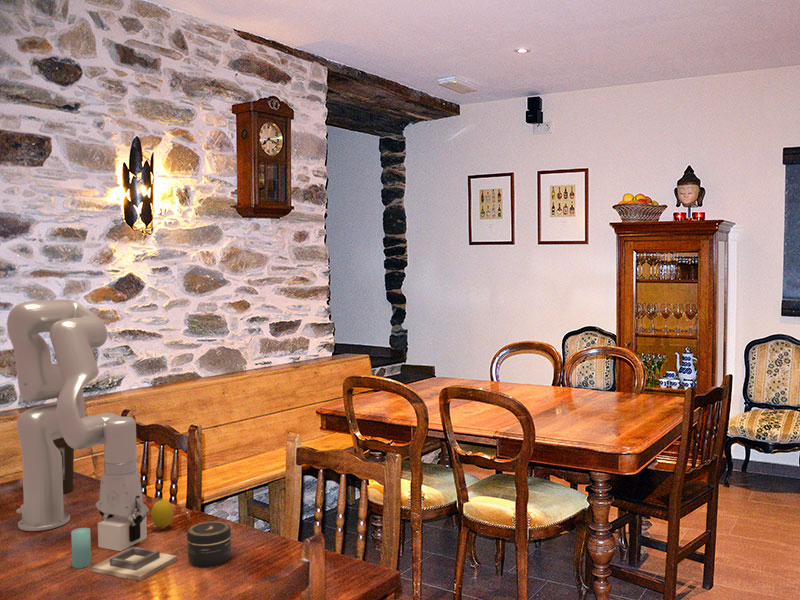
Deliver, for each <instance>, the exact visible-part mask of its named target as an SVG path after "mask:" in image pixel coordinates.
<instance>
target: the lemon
mask: <svg viewBox="0 0 800 600" xmlns="http://www.w3.org/2000/svg"><path fill="white" fill-rule="evenodd" d="M150 513H151V517H150V518H151V520H152V524H154V525H155V527H157V528H160V529H161V530H164V529H165V528H166V527H168V526H169V525H170V524H171V523H172V522H173V519H174V514H175V511H174V507H173V505H172V503H171V502H170V501H169V500H166V499H164V498H161V499H159V500H158V501H156V502H155V503H154V504H153V506H152V508H151V512H150Z"/></svg>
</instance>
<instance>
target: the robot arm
mask: <svg viewBox="0 0 800 600" xmlns="http://www.w3.org/2000/svg"><path fill="white" fill-rule="evenodd" d="M8 313H9V314H8V316H7V320H6V329H7V333H8V337H9V340H10V343H11V346H12V348H13V352H14V360H15V368H16V376H17V384H18V385H17V386H18V389H19V395H20V397H21V399H23V400H24V401H25V402H29V403H35V402H43V401H48V400H54V399H56V401H57V403H51V404H45V405H41V406H35V407H31V408H29V409H27V410H24V411H23V412H22V413H21V414H20V415H19V417H18V418H17V420H16V431H17V435H18V439H19V444H20V450H21V462H22V465H21V466H22V488H23V491H22V493H23V503H22V504H21V505H20V507H19V508H17V509H16V514H19V515H20V514H21V519H20V520H19V521H18V523H17V528H18V529H19V530H21V531H24V532H39V531H48V530H52V529H55V528H59V527H62V526H64V525H66V524H67V523H69V522H70V520H71V514H70V513H69V512H67V511H66V512H65V510H64V494H63V475H62V456H61V453H60V451H59V450H58V448H57V447H56V446H55V444H54V443H53V440H56V439H59V438H64V440H65V442H66V443H67V444H68V445H69V446H70V447H71V448H73V449H74V450H84V449H87V448H92V447H94V446H95V447H96V446H98V445H103V457H104V461H103V462H102V466H103V467H104V472H102V474H101V477H100V478H101V479H100V484H99V485H100V486H99V499H98V501H96V502H95V507H96V508H97V510H98V512H99V514H100V516H101V517H102V519H101V520H102V521H104V520H106V519H108V518H111V517H113V516H115V515H117V516H124V517H127V516H128V519H129V521H130V523H131V526H129V540H130V542H133V541H135V540H137V539H139V538H140V537H141V536H140V523H142V521H143V519H144V518H145V517H146V518H147V515H148V513H150V509H149V507H148V506H147V505H146V504H145V503H144V501H143V492H142V491H143V490H142V483H141V479H140V478H141V477H140V473H139V472H138V460H137V459H138V457H137V455H138V453H137V424H136V420H135V419H134V418H133V417H131V416H121V415H118V414H116V413H113V412H102V413H98V414H91V415H88V416H86V407H85V399H84V391H83V387H84V386H86V385H87V384H88V383H90V382H91V381H93V380H94V379H96V377H98V376H99V374H100V373H99V368H98V364H97V361H96V358H95V355H94V353H93V349H94V348H99V347H102V346H104V345H105V343H106V341H107V339H108V330H107V327H106V325H105V322H104V321H103V320H102V319H101V318H100V317H99V316H98V315H97V314H96V313H94V312H92V311H91V310H89V309H88V308H87V307H85V306H84V305H82V304H81V303H79V302H77V301H75V300H73V299H49V300H48V299H46V300H45V299H43V300H31V301H29V300H28V301H24V302H21V303H19V304H17V305H15V306H13V307H12V309H10V311H9V312H8ZM40 333H49V339H50V342H51V345H52V348H53V352H54V354H55V358H56V360H57V362H56V363H53V362H52V356H51V355H52V354H51V349H50V346H49V344H48V343H47V341H46V340H45V339H44V338H43V336H41V335H40ZM133 515H135V517H136V518H135V519H134V517H133Z"/></svg>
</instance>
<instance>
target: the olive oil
mask: <svg viewBox="0 0 800 600" xmlns="http://www.w3.org/2000/svg"><path fill="white" fill-rule="evenodd" d="M53 443H54V444H55V446H56V447H57V448H58V450H59V451H60V453H61V456H62V475H63V495H65V494H68V493H70V492H73V490H74V466H75V465H74V462H75V461H74V460H75V459H74V458H75V457H74V455H75V453H74V452H75V449H73V448H71V447H70V446H69V445H68V444H67V443H66V442H65V440H64V438H59V439H56V440H53Z"/></svg>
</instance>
